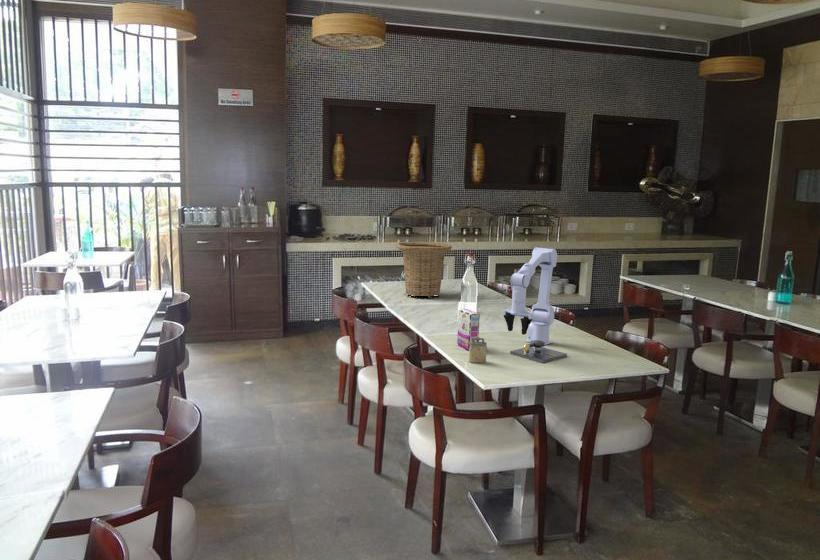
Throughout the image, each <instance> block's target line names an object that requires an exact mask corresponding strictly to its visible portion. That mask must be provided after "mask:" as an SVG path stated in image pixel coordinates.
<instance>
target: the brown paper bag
mask: <svg viewBox="0 0 820 560" xmlns="http://www.w3.org/2000/svg"><path fill="white" fill-rule="evenodd" d="M475 340H477V341H476V342H474V341H475ZM480 340H481V341H480ZM487 346H488V345H487V342H485V338H483V337H477V338H472V342H470V350H469V351H468V352H469V354H468V355H469V356H468V362H469V363H472V364H480V363H481V364H482V363H483V364H484V363H487V348H488V347H487Z"/></svg>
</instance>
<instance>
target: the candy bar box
mask: <svg viewBox="0 0 820 560" xmlns="http://www.w3.org/2000/svg"><path fill="white" fill-rule="evenodd" d="M480 315H481V313H479V312H476V311H474V310H472V309H469V308H463V309H458V321H457V322H458V323H457V340H456V341H457V343H456V344H458V345H460V346H461V347H460V346H459V347H460V348H462V347H463V348H462V349H464V348H465V350H466V351H468V352H469V350H470V342H472V338H477V337H479V335H480V334H479V333H480V320H481V319H480V317H481V316H480ZM479 338H480V337H479ZM476 341H477V340H475V341H474V342H476ZM458 345H457V346H458Z"/></svg>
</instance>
